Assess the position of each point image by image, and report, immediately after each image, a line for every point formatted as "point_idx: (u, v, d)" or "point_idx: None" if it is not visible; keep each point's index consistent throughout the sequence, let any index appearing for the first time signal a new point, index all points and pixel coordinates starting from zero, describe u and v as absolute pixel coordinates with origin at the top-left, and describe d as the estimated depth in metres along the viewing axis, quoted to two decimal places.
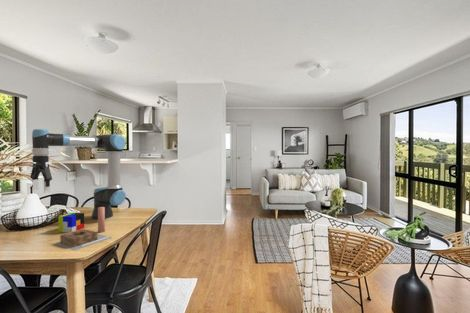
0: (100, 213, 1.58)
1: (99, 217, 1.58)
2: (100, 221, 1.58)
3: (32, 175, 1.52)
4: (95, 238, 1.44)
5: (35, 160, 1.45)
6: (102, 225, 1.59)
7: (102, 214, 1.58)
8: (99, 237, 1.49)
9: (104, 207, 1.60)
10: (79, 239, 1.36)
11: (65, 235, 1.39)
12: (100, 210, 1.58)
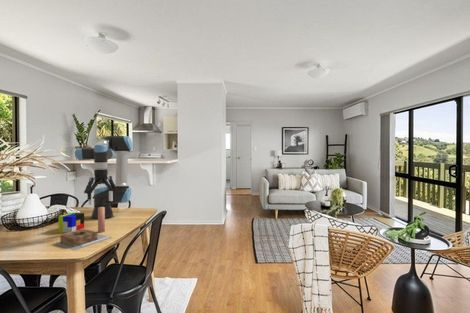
0: (100, 213, 1.58)
1: (99, 217, 1.58)
2: (100, 221, 1.58)
3: (111, 186, 1.67)
4: (95, 238, 1.44)
5: None
6: (102, 225, 1.59)
7: (102, 214, 1.58)
8: (99, 237, 1.49)
9: (104, 207, 1.60)
10: (79, 239, 1.36)
11: (65, 235, 1.39)
12: (100, 210, 1.58)
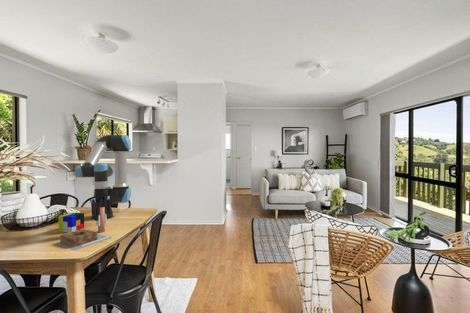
0: (100, 213, 1.58)
1: None
2: (100, 221, 1.58)
3: None
4: (95, 238, 1.44)
5: None
6: (102, 225, 1.59)
7: (102, 214, 1.58)
8: (99, 237, 1.49)
9: (104, 207, 1.60)
10: (79, 239, 1.36)
11: (65, 235, 1.39)
12: (100, 210, 1.58)
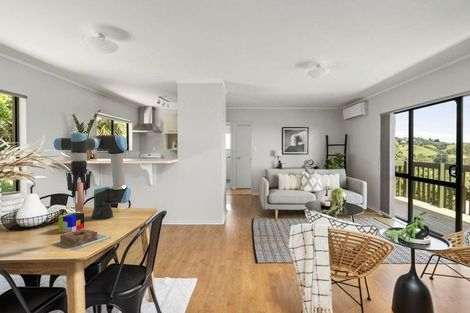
0: (78, 189, 1.40)
1: None
2: (78, 198, 1.40)
3: None
4: (95, 238, 1.44)
5: None
6: (80, 202, 1.41)
7: (80, 190, 1.41)
8: (99, 237, 1.49)
9: (82, 182, 1.42)
10: (79, 239, 1.36)
11: (65, 235, 1.39)
12: (78, 185, 1.40)
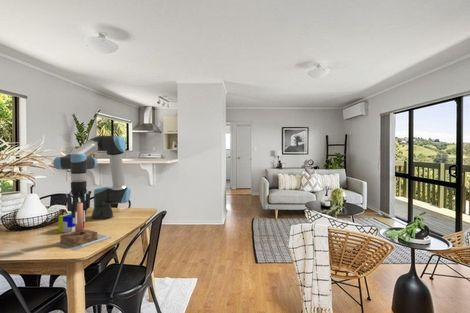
0: (77, 209, 1.40)
1: None
2: (77, 218, 1.40)
3: None
4: (95, 238, 1.44)
5: None
6: (80, 223, 1.41)
7: (80, 210, 1.41)
8: (99, 237, 1.49)
9: None
10: (79, 239, 1.36)
11: (65, 235, 1.39)
12: (77, 206, 1.40)
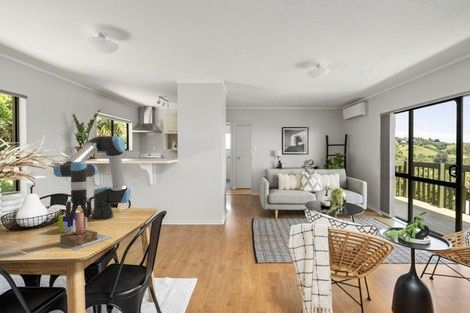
0: (78, 219, 1.41)
1: (77, 224, 1.41)
2: (78, 228, 1.41)
3: None
4: (95, 238, 1.44)
5: None
6: (80, 233, 1.41)
7: (80, 220, 1.41)
8: (99, 237, 1.49)
9: (83, 213, 1.43)
10: (79, 239, 1.36)
11: (65, 235, 1.39)
12: (78, 216, 1.41)
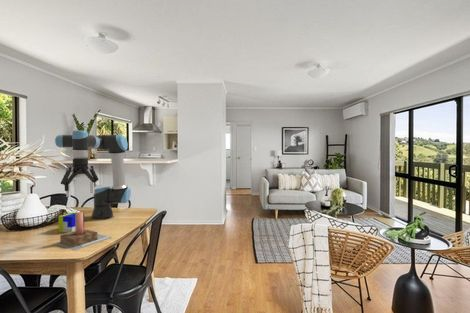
0: (78, 219, 1.41)
1: (77, 224, 1.41)
2: (78, 228, 1.41)
3: (93, 177, 1.51)
4: (95, 238, 1.44)
5: None
6: (80, 233, 1.41)
7: (80, 220, 1.41)
8: (99, 237, 1.49)
9: (82, 213, 1.43)
10: (79, 239, 1.36)
11: (65, 235, 1.39)
12: (78, 216, 1.41)
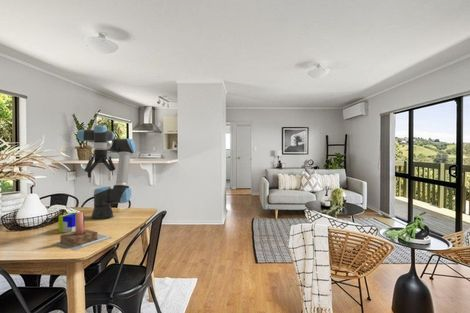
0: (78, 220, 1.40)
1: (77, 224, 1.40)
2: (78, 229, 1.40)
3: None
4: (95, 238, 1.44)
5: None
6: (80, 233, 1.41)
7: (80, 221, 1.41)
8: (99, 237, 1.49)
9: None
10: (79, 239, 1.36)
11: (65, 235, 1.39)
12: (78, 216, 1.40)
